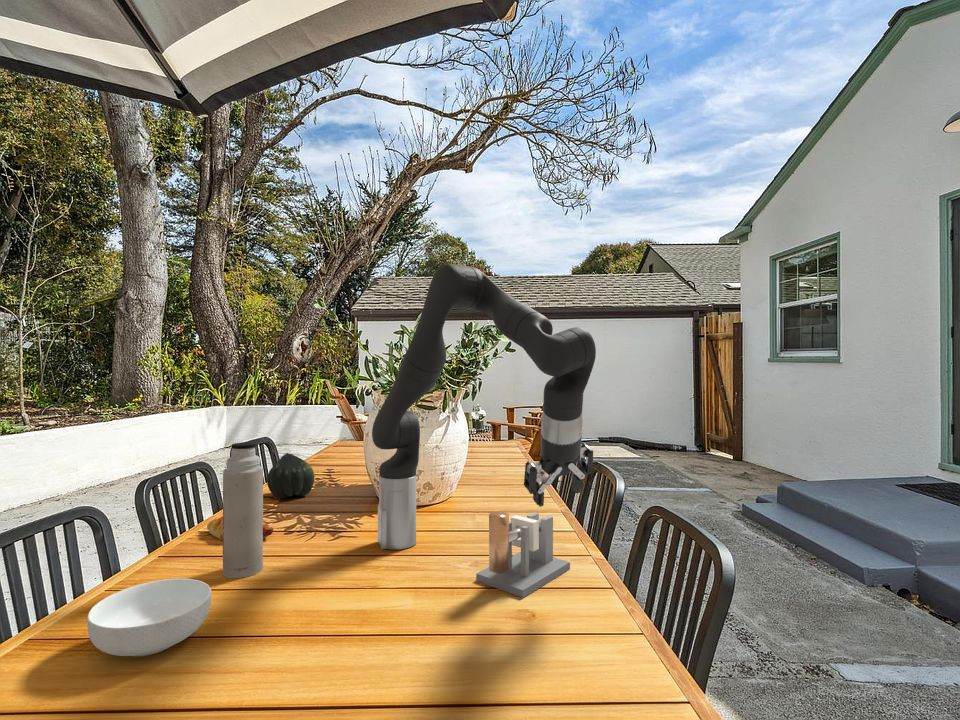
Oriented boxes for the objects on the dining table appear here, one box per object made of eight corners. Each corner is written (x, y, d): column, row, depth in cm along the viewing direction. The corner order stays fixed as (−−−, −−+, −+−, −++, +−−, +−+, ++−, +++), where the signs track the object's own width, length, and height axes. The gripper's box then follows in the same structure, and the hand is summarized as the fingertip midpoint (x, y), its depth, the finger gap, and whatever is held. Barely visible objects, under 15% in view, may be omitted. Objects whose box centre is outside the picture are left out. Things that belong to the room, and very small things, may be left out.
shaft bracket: (523, 598, 98) (523, 538, 98) (476, 580, 106) (476, 525, 106) (570, 568, 112) (570, 517, 112) (525, 555, 119) (525, 506, 120)
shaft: (500, 575, 99) (500, 519, 99) (484, 569, 102) (485, 515, 102) (552, 547, 114) (552, 499, 114) (537, 543, 116) (537, 495, 116)
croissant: (199, 548, 133) (186, 526, 130) (225, 520, 142) (214, 498, 138) (265, 555, 127) (254, 532, 123) (288, 526, 135) (278, 503, 132)
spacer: (533, 551, 106) (533, 523, 106) (510, 544, 110) (510, 517, 110) (538, 548, 108) (538, 520, 108) (516, 542, 111) (516, 515, 111)
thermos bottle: (216, 579, 106) (216, 446, 106) (231, 564, 114) (232, 440, 114) (255, 577, 107) (255, 445, 107) (267, 562, 115) (268, 440, 115)
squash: (310, 485, 164) (312, 446, 173) (261, 489, 161) (266, 449, 170) (315, 505, 174) (316, 467, 184) (269, 509, 171) (273, 470, 181)
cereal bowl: (70, 686, 71) (70, 636, 71) (104, 629, 86) (104, 587, 86) (206, 658, 78) (206, 612, 78) (215, 609, 93) (215, 571, 93)
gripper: (582, 411, 99) (577, 475, 107) (517, 430, 94) (517, 496, 102) (605, 431, 93) (598, 498, 101) (537, 452, 88) (535, 521, 96)
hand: (557, 497), depth 101 cm, fingers open, 8 cm apart
